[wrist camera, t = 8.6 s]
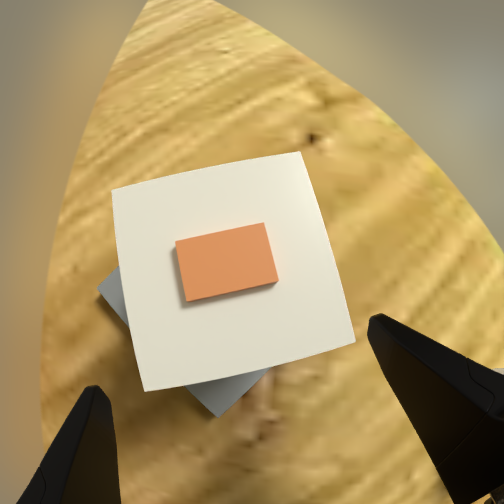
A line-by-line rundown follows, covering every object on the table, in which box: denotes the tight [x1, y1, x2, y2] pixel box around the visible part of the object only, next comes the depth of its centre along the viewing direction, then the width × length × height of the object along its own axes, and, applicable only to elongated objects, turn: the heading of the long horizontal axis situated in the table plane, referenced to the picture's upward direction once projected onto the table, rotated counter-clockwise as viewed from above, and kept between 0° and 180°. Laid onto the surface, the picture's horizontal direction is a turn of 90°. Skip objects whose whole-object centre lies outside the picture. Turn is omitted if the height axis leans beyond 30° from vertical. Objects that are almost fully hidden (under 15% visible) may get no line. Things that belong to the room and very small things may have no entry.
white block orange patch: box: [112, 152, 356, 392], centre depth 12 cm, size 4×4×11 cm
